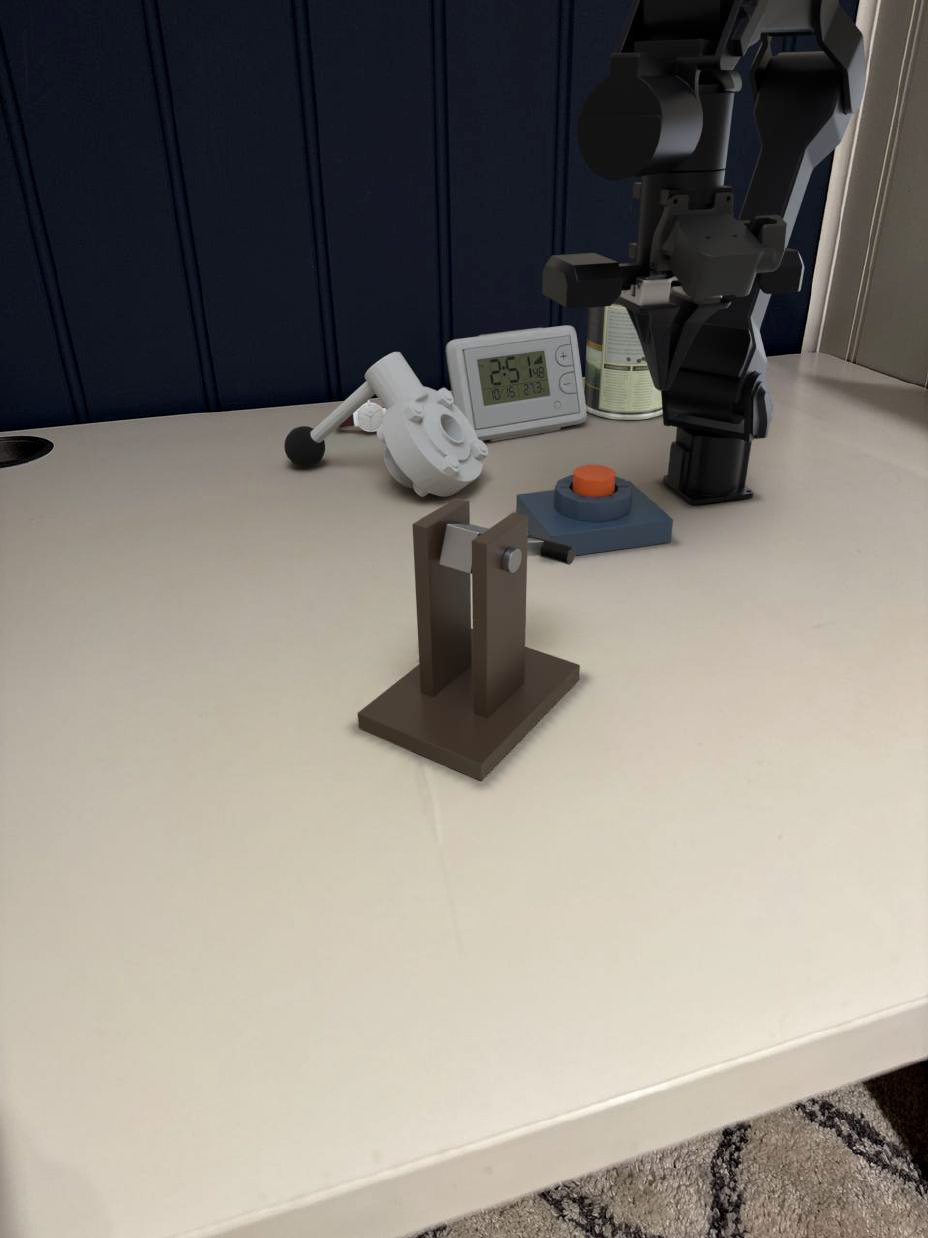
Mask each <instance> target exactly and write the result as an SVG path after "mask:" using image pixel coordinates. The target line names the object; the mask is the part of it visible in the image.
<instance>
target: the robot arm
mask: <svg viewBox="0 0 928 1238" xmlns="http://www.w3.org/2000/svg"><path fill="white" fill-rule="evenodd" d="M798 36H799V37H805V36H815V39H816V40H815V41H816V44H817V46H818V47H819V48H820V49H821V51H819V50H817V51H791V52H779V53H778V54H776V55H775V56H773V53H772V48H771V41H772V38H777V37H778V38H780V37H781V38H782V37H798ZM759 40H761V43H760V45H759V47H758V50H757V52H756V54H755V57H754V58H753V59H754V60H753V62H752V63H751V66H750V68H749V71H748V78H749V84H750V88H751V92H752V97H753V101H754V108H753V111H752V112H753V113H752V116H753V121H754V124H755V128H756V133H757V135H758V140H759V143H760V150H759V155H758V158H757V161H756V164H755V167H754V170H753V173H752V176H751V179H750V182H749V185H748V188H747V191H746V195H745V198H744V200H743V204H742V207H741V210H740V213H739V217H738V219H736V218H735V216H734V197H735V196H734V195H733V194H734V193H733V192H734V191H733V190H734V187H733V186H729V185H724V184H725V176H726V167H727V158H728V150H729V142H730V135H731V127H732V126H731V125H732V117H733V110H734V100H735V93H739V92H740V91H741V89H742V88H743V87H742V86H743V81H742V78H741V75H740V73H739V72H738V70H737V69H736V68H735V67H736V65H737V64H738V62H739V61H740V59H741V57H742V58H743V57H744V56H745V54H746V52H747V51H748V48H750V47H751V46H753V45H755V44H757V43H758V42H759ZM864 41H865V40H864V35H863V32H862V31H861V29H860V28H858V26H857V25H856V23H855V22H854V21H853V20H852V18H851V17H850V16H849V15H848V14H847V13H846V11H845V10H844V9H843V7H841V5H840V4H839V0H632V2H631V5H630V8H629V10H628V13H627V15H626V18H625V22H624V24H623V26H622V29H621V32H620V35H619V37H618V40H617V43H616V46H615V48H614V51H613V53H611V55H610V58H609V74H608V77H606V78H605V79H603V80H601V82H599V83H598V84H597V85H596V86H595V87H594V89H593V90H592V91H591V92H590V93H589V94H588V96H587V98H586V100H585V102H584V104H583V107H582V110H581V113H580V116H578V119H577V126H576V127H577V128H576V131H577V132H576V133H577V143H578V147H579V151H580V154H581V156H582V157H583V158H582V159H583V160H584V162H585V164H586V165H587V166H588V167H589V169H590V170H591V171H592V172H593V173H595V174H596V175H598V176H599V177H600V178H602V179H606V180H608V181H615V182H616V181H624V180H629V179H635V178H641V180H640V182H633V187H632V199H635V200H639V207H638V217H637V218H638V219H637V229H636V230H637V231H636V241H635V242H629V243H628V253H627V254H628V256H627V258H629V259H632V260H634V262H627V263H626V262H625V263H619V262H618V261H616V260H614V259H611V258H608V257H606V256H604V255H601V254H598V253H595V252H589V253H587V252H586V253H572V254H571V253H569V254H556V255H555V254H553V255H551V256H550V257H549V259H548V260H547V262H546V263H545V265H544V267H543V269H542V288H541V295H543V296H545V297H546V298H548V299H549V300H552V301H553V302H556V303H557V304H558V305H560V306H562V307H564V308H566V309H573V310H575V309H576V310H577V309H578V310H579V309H589V308H593V307H606V306H611V305H612V304H613V303H614V302H615V303H617V304H619V305H621V306H623V307H625V308H626V310H627V312H628V314H629V316H630V319H631V321H632V323H633V325H634V327H635V330H636V332H637V335H638V337H639V340H640V343H641V346H642V350H643V353H644V356H645V359H646V362H647V365H648V369H649V372H650V375H651V378H652V381H653V384H654V387H655V388H656V389H657V390H659V391H661V397H662V411H663V414H662V423H663V426H665V427H673V428H674V427H675V428H676V433H675V441H672V442H671V444H670V448H669V449H670V450H669V459H668V467H667V469H668V470H667V474H665V475H663V477H662V482H664V484H666V485H667V486H668V487H670V488H671V489H672V490H673V491H675V493H677V494H678V495H679V496H681V497H682V498H683V499H684V500H686V501H687V502H688V503H689V504H691V505H704V504H711V503H718V502H719V503H720V502H724V501H725V502H727V501H734V500H741V499H749V498H750V499H751V498H753V497H754V494H755V492H754V490H753V489H751V488H750V487H748V486H747V485H746V484H747V483H746V482H747V476H748V469H749V463H750V456H751V450H752V444H753V443H752V442H753V441H754V440H759V439H766V438H768V435H769V430H770V423H771V422H772V420H773V419H772V417H773V416H772V415H773V411H774V403H773V398H772V396H771V391H770V388H769V385H768V381H767V377H766V371H767V369H768V360H767V355H766V351H765V348H764V343H763V340H762V335H761V332H760V331H761V327H762V323H763V321H764V318H765V315H766V311H767V308H768V306H769V302H770V299H771V296H772V295H775V294H787V293H799V292H800V291H801V290H802V284H803V280H804V279H803V278H804V272H805V265H804V261H803V259H802V257H801V254H800V253H799V250H797V249H793V248H790V247H788V245H789V242H790V239H791V236H792V232H793V229H794V226H795V223H796V220H797V217H798V214H799V212H800V208H801V205H802V202H803V200H804V196H805V193H806V190H807V187H808V184H809V181H810V178H811V175H812V173H813V170H814V169H815V168H816V166H818V165H819V164H820V163H821V162H823V160H824V159H826V157H827V156H829V155H830V153H831V152H832V151H834V150H835V149H836V148H837V147H838V146H839V145H840V144H841V143H842V141H843V138H844V136H845V134H846V132H847V129H848V126H849V123H850V121H851V118H852V116H853V115H856V113H858V111H859V108H860V107H861V104H862V102H863V98H864V94H865V89H866V82H867V69H866V68H867V67H866V66H867V65H866V54H865V42H864ZM671 287H673V289H671Z"/></svg>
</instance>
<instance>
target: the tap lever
mask: <svg viewBox="0 0 928 1238" xmlns="http://www.w3.org/2000/svg"><path fill="white" fill-rule="evenodd" d="M488 529H489V528H487V527H484V526H481V525H477V524H472V523H470V524H447V525H446V530H445V535H444V540H443V546H442V551H441V556H440V561H439V564H440V565H442V566H445V567H449V568H452V569H455V570H459V571H462V572H465V573H469V574H470V575H472V540H473V539H475V538H476V537H478V536H479V535H481V534H482V533H484V532H485V531H487V530H488ZM575 553H576V550H575V548H574V547H573V546H569V545H565V544H561V543H558V542H554V541H550V540H546V539H542V538H539V537H535V536H531V535H530V534H528V544H527V558H528V557H529V558H530V557H539V558H543V559H546V560H550V561H553V562H557V563H561V564H564V565H568V566H569V565H571V564H573V562H574V560H575V557H576V556H575Z"/></svg>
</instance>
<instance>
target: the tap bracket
mask: <svg viewBox="0 0 928 1238" xmlns="http://www.w3.org/2000/svg"><path fill="white" fill-rule="evenodd" d="M470 505H471V504H470V501H469V500H466V499H463V498H462V499H461V498H458V497H455V498H453V499H452V500H450V501H448V502H447V503H445V504H444V505H442V506H440V507H439V508H437V509H435V510H433V511H432V512H430V513H429V514H427V515H425V516H423V517H422V518H420V519H418V520H417V521H415V522H413V523H412V545H413V547H412V548H413V565H414V566H413V567H414V586H415V604H416V605H415V607H416V627H417V628H416V629H417V646H418V647H417V648H418V665H416V666H415V667H414V668H412V669H411V670H409V671H408V672H407V673H406V674H405V675H404V676H402V677H401V678H400V679H398V680H397V681H396V682H395V683H393V684H392V685H391V686H390V687H388V688H387V689H386V690H384V691H383V692H381V694H379V695H378V696H377V697H376V698H374V699H373V700H372V701H371V702H369V703H368V704H367V705H366V706H364V707H362V709H360V710H359V711H358V712H357V723H358V724H357V725H358V728H359V729H360V730H362V731H364V732H367V733H369V734H372V735H373V736H375V737H377V738H381V739H383V740H386V741H388V742H390V743H392V744H395V745H397V746H399V747H402V748H404V749H406V750H408V751H411V752H413V753H415V754H418V755H420V756H422V757H425V758H427V759H429V760H431V761H434V762H436V763H438V764H441V765H443V766H446V767H448V768H450V769H452V770H455V771H457V772H460V773H461V774H464V775H467V776H469V777H471V778H473V779H476V780H478V781H482V780H483V779H484V778H485V777H486V776H487V775H488V774H489V773H490V772H491V771H492V770H493V769H494V768H495V767H496V766H497V765H498V764H499V763H500V762H501V760H503V759H504V758H505V757H506V756H507V755H508V754H509V752H510V751H512V749H514V748H515V747H516V746H517V744H518V743H519V742H520V741H521V740H522V739H523V738H524V737H525V736H526V735H527V734H528V733H529V732H530V731H531V730H532V729H533V728H534V726H536V725H537V724H538V722H539V721H540V720H541V719H543V717H544V716H546V714H548V712H549V711H550V710H551V709H552V708H553V707H554V706H555V705H557V703H558V702H559V701H560V700H561V699H562V698H563V697H564V696H565V695H566V693H568V692H569V690H570V689H571V688H573V686H575V684H576V683H577V682H578V681H579V680H580V672H581V670H580V669H581V665H580V664H579V663H575V662H572V661H570V660H567V659H564V658H561V657H558V656H554V655H551V654H548V653H546V652H543V651H540V650H537V649H534V648H530V647H527V646H526V628H527V627H526V626H527V624H526V623H527V583H528V582H527V581H528V557H527V544H528V535H529V532H528V516H526V515H522V514H518V513H516V512H512V513H510V514H508V515H507V516H506V517H505V518H503V519H501V520H500V521H498V522H497V523H495V524H494V525H493V526H491V527H490V528H488V530H487V531H485V532H484V533H482V534H481V535H479V536H478V537H476V538H475V539H473V540H472V574H469V573H465V572H462V571H459V570H455V569H452V568H449V567H445V566H442V565H440V564H439V561H440V556H441V551H442V546H443V540H444V535H445V530H446V525H447V524H471V521H470V520H471V518H470V517H471V516H470V515H471V514H470V512H471V511H470Z"/></svg>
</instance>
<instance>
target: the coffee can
mask: <svg viewBox="0 0 928 1238" xmlns="http://www.w3.org/2000/svg"><path fill="white" fill-rule="evenodd" d="M671 289H673V287H671ZM587 309H588V311H587V312H588V314H587V329H586V330H587V332H586V335H587V336H586V353H585V371H584V395H585V403H586V412H587V413H589V414H591V415H593V416H596V417H600V418H604V419H608V420H617V421H618V420H619V421H639V420H640V421H642V420H648V419H653V418H657V417H660V416H663V411H662V397H661V391H659V390H657V389H656V388H655V387H654V384H653V381H652V378H651V375H650V372H649V369H648V365H647V362H646V359H645V356H644V353H643V350H642V346H641V343H640V340H639V337H638V335H637V332H636V330H635V327H634V325H633V323H632V321H631V319H630V316H629V314H628V312H627V310H626V308H625V307H623V306H621V305H619V304H617V303H615V302H614V303H613V304H612V305H611V306H606V307H593V308H587Z"/></svg>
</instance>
